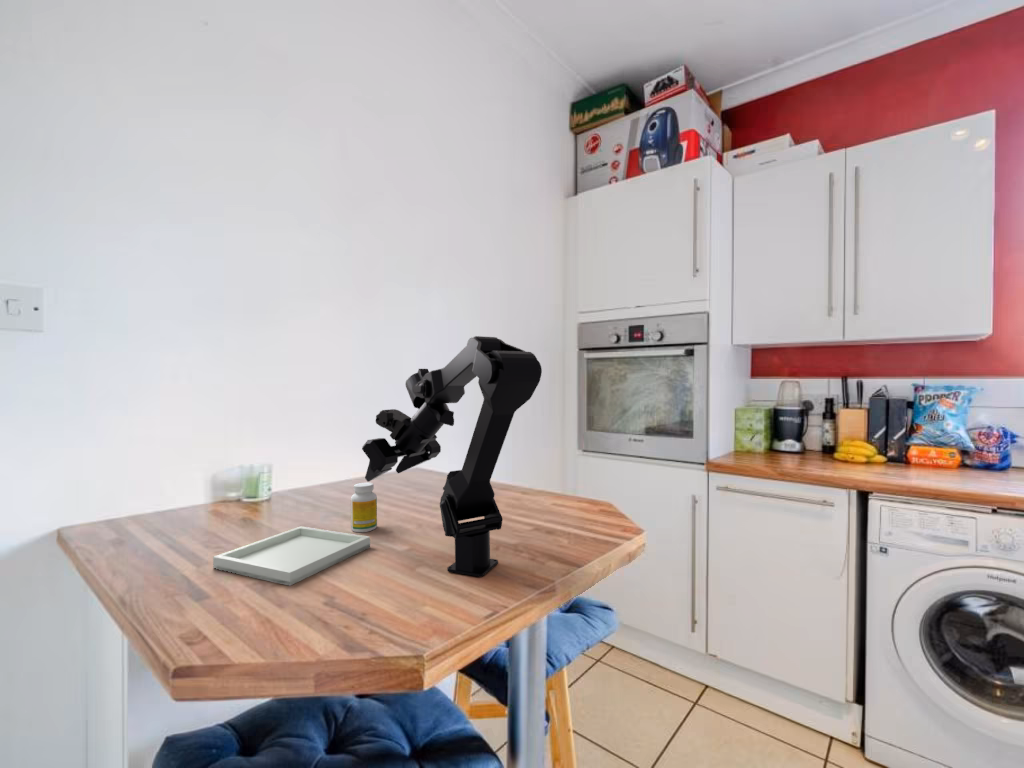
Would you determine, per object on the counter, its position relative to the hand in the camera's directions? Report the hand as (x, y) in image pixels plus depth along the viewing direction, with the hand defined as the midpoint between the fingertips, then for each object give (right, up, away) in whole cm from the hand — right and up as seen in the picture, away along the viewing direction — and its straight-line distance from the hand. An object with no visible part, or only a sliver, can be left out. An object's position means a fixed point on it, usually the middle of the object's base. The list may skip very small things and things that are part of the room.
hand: (382, 475), depth 96 cm
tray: (-12, -12, -14) cm, 22 cm away
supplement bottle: (-5, -12, +2) cm, 13 cm away
